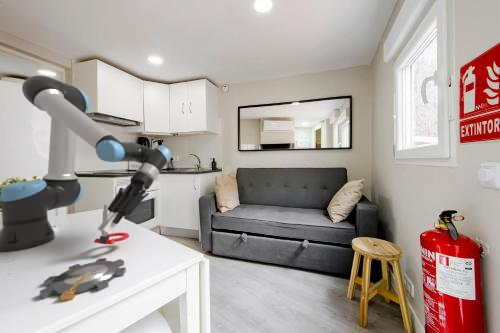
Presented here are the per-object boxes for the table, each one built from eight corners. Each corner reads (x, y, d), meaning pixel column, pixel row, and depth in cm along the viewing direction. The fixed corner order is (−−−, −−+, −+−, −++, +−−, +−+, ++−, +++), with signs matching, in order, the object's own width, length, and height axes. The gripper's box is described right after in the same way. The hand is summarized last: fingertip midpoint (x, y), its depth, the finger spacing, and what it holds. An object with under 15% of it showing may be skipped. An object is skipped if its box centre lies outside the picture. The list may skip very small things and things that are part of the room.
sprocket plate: (29, 285, 52) (29, 280, 52) (107, 256, 67) (107, 253, 67) (55, 311, 43) (55, 305, 43) (138, 271, 58) (138, 267, 58)
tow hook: (114, 234, 78) (91, 243, 69) (115, 200, 78) (92, 204, 69) (134, 236, 76) (113, 245, 67) (135, 201, 76) (114, 206, 67)
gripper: (164, 183, 83) (126, 239, 68) (137, 182, 89) (97, 233, 74) (153, 171, 78) (110, 228, 63) (125, 170, 83) (80, 223, 69)
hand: (103, 231), depth 69 cm, fingers closed on tow hook, 2 cm apart
